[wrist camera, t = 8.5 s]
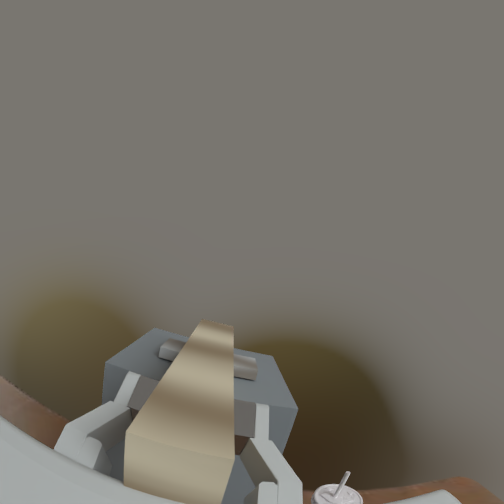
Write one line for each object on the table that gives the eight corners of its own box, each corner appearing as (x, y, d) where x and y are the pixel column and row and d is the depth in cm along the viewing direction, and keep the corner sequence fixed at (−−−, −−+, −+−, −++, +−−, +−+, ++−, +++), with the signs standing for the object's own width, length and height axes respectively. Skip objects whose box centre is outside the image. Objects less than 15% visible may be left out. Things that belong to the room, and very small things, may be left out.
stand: (221, 580, 13) (298, 409, 15) (110, 554, 13) (105, 362, 15) (222, 518, 25) (272, 356, 27) (134, 497, 25) (154, 327, 27)
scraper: (291, 533, 5) (328, 466, 5) (54, 473, 5) (45, 394, 5) (252, 367, 22) (261, 332, 22) (167, 346, 22) (174, 311, 22)
